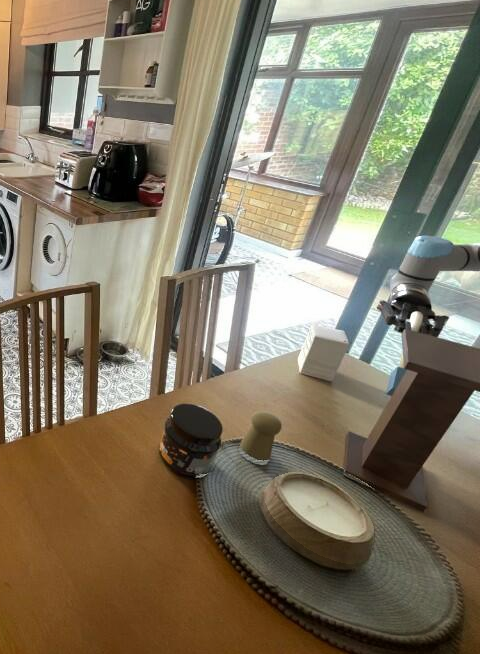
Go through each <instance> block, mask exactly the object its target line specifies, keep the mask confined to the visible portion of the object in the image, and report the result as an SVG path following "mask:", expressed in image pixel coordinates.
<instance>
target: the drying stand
mask: <svg viewBox="0 0 480 654" xmlns="http://www.w3.org/2000/svg"><path fill="white" fill-rule="evenodd" d="M400 337H401V347H402V351H403V360H404V369H407V371H406V373H405V374H404V376H403V378H402V379H401V381H400V383H399V385H398V386H397V388H396V390H395V391H394V393H393V395H392V396H390V398H389V400H388V402H387V404H386V405H385V407H384V409H383V410H382V412H381V414H380V416H379V418H378V419H377V421H376V422H375V424H374V425H373V428H372V429H371V431H370V433H369V434H368V436H367V437H365V436H362V435H360V434H357V433H355V432H352V431H350V430H348V431H347V433H346V435H345V444H344V456H343V466H342V469H343V468H344V470H345V472H346V473H349V474H351V475H353V476H355V477H356V478H358V479H360V480H361V481H363V482H365V483H367V484H368V485H369V486H371V487H372V488H374V489H375V490H376V492H378V493H380V494H382V495H384V496H386V497H388V498H391V499H393V500H395V501H398V502H400V503H402V504H404V505H406V506H409V507H411V508H413V509H415V510H418V512H422V513H425V511H426V510H427V509H428V501H427V491H426V483H425V474H424V464H425V463H426V461H428V459H429V457H430V456H431V454H432V453H433V451H434V450H435V449H436V447H437V446H438V445H439V443H440V441H441V440H442V438H444V435H445V434H446V433H447V431H448V430H449V428H450V427H451V426H452V424H453V422H454V421H455V420H456V418H457V417H458V415H459V414H460V412H461V411H462V409H463V408H464V407H465V405H466V404H467V403H468V401H469V400H470V398H471V397H472V395H473V393H474V392H475V391H476V392H479V393H480V348H479V347H475V346H473V345H472V346H471V345H467V344H464V343H460V342H456V341H453V340H449V339H446V338H441V337H439V336H438V337H434V336H430V335H427V334H423V333H419V332H415V331H412V330H408V329H404V331H403V333H401V336H400ZM375 490H374V491H375Z"/></svg>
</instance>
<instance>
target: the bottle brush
mask: <svg viewBox="0 0 480 654" xmlns="http://www.w3.org/2000/svg"><path fill="white" fill-rule="evenodd" d="M422 319H423V314H422V313H421V312H413V313H412V314H411V318H410V320H409V322H411V329H412V331H415V332H420V327H421V323H422ZM406 371H407V369H404V360H403V350H402V351H401V356H400V359H399V364H398V366H396V368H394V370H392V371H391V372H390V376H389V379H388V384H387V388H386V392H385V395H388V396H390V397H392V395H393V393H394V391H395V390H396V388H397V386H398V385H399V383H400V381H401V379H402V378H403V376H404V374H405V373H406Z"/></svg>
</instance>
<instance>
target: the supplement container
mask: <svg viewBox="0 0 480 654" xmlns="http://www.w3.org/2000/svg"><path fill="white" fill-rule="evenodd" d="M223 431H224V428H223V424H222V422H221V420H220V419H219V418H218V417H217V416H216V414H214V413H213V412H212V411H210V410H208V409H207V408H206V407H203V406H200V405H197V404H194V403H179V404H177V405H175V406H173V407H172V409H171V411H170V414H169V415H168V416H167V418H166V420H165V422H164V428H163V432H162V436H161V439H160V443H159V445H158V454H159V457H160V459H161V461H162V463H163V464H164V465H165V464H166V465H167V466H168V467H169V468H170V469H169V468H168V467H167V466H166V465H165V466H166V467H167V468H168V469H169V470H170V471H172V470H173V471H174V472H173V471H172V472H173V473H175V472H176V473H175V474H176V475H178V476H181V475H182V476H181V477H183V476H184V478H186V477H187V478H186V479H191V478H192V480H193V479H194V480H196V479H195V477H196V475H199V474H207V473H209V472H210V471H211V472H212V470H211V469H213V465H214V462H215V460H216V457H217V454H218V451H219V450H220V449H221V446H222V437H221V436H222V434H223ZM211 472H210V473H211ZM210 473H209V474H210Z"/></svg>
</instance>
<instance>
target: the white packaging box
mask: <svg viewBox="0 0 480 654" xmlns="http://www.w3.org/2000/svg"><path fill="white" fill-rule="evenodd" d="M349 347H350V343H349V340H348V337H347V335H346V332H345V330H341V329H337V328H332V327H327V326H323V325H318V324H314V323H311V326H310V328H309V331H308V333H307V336H306V338H305V341H304V343H303V345H302V348H301V350H300V352H299V355H298V357H297V365H298V369H299V374H302V375H305V376H309V377H313V378H316V379H320V380H323V381H328V382H330V383H331V382H333V380H334V378H335V376H336V375H337V372H338V370H339V367H340V366H341V363H342V362H343V360H344V357H345V356H346V353H347V351H348V349H349Z"/></svg>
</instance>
